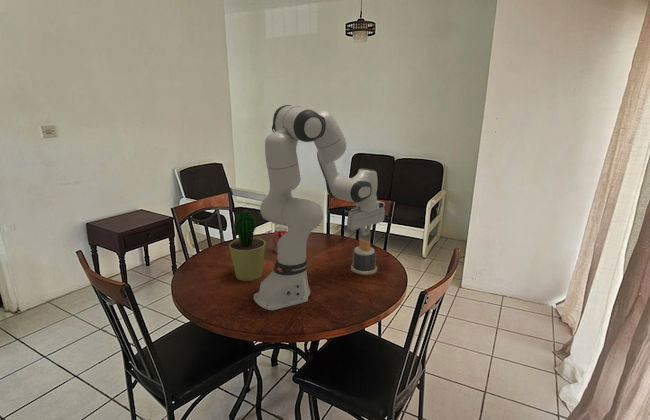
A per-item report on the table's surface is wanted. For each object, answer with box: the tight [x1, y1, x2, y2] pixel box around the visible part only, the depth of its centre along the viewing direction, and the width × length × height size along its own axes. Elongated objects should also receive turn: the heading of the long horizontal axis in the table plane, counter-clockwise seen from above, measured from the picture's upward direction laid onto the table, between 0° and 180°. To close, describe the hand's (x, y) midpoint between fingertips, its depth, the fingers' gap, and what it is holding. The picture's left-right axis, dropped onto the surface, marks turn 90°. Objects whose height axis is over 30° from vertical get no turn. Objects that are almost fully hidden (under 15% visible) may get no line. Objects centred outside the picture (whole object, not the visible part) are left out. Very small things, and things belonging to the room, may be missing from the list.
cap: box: [353, 239, 376, 256], centre depth 165 cm, size 9×9×8 cm
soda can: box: [273, 227, 288, 253], centre depth 187 cm, size 7×7×12 cm
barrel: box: [350, 250, 378, 276], centre depth 167 cm, size 12×12×8 cm
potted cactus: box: [228, 209, 267, 282], centre depth 157 cm, size 15×15×30 cm
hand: (365, 235), depth 164 cm, fingers closed
